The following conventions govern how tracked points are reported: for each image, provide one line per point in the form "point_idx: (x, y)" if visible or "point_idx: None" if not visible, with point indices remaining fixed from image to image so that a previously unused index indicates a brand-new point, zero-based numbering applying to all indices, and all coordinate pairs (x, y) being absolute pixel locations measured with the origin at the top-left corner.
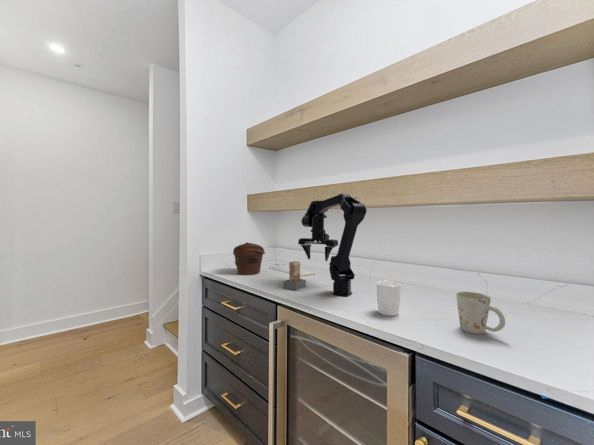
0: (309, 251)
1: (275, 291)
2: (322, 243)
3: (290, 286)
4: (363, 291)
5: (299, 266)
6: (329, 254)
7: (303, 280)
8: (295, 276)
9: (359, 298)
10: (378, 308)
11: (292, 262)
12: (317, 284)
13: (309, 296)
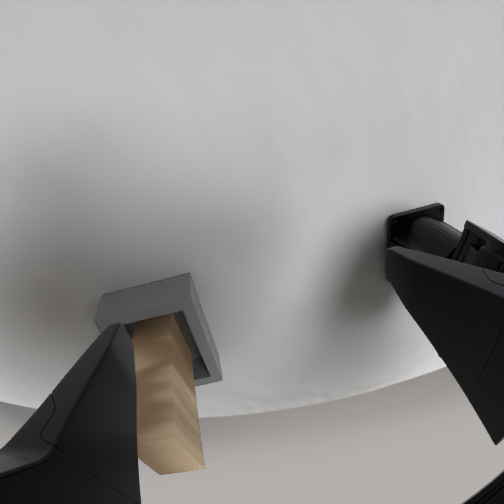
0: (95, 425)
1: None
2: (493, 496)
3: None
4: (460, 136)
5: (175, 407)
6: (474, 267)
7: (196, 320)
8: (193, 390)
9: None
10: None
11: (176, 469)
12: (200, 172)
13: (320, 357)
